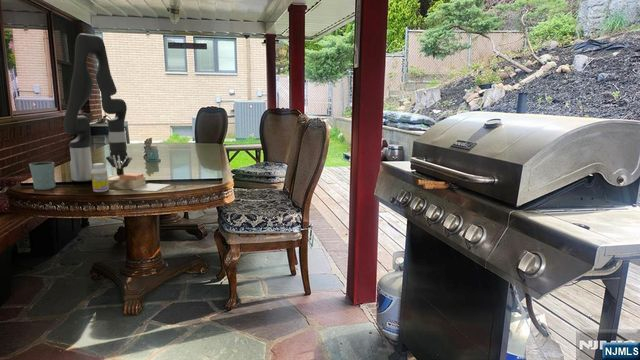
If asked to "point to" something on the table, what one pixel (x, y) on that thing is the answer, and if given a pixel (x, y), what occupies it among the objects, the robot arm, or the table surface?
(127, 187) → the deck
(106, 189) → the supplement bottle
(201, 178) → the table surface
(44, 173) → the pale teal cup
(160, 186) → the mat
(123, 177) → the orange brown flat block
